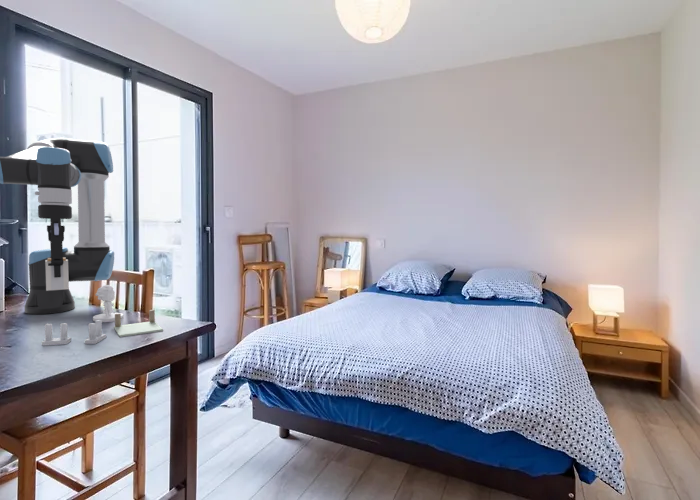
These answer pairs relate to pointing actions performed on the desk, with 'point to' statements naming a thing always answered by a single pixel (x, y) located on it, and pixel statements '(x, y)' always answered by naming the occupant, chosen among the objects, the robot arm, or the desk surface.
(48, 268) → the connector
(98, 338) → the clip
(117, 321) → the holder
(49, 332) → the clip
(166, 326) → the desk surface
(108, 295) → the figurine
